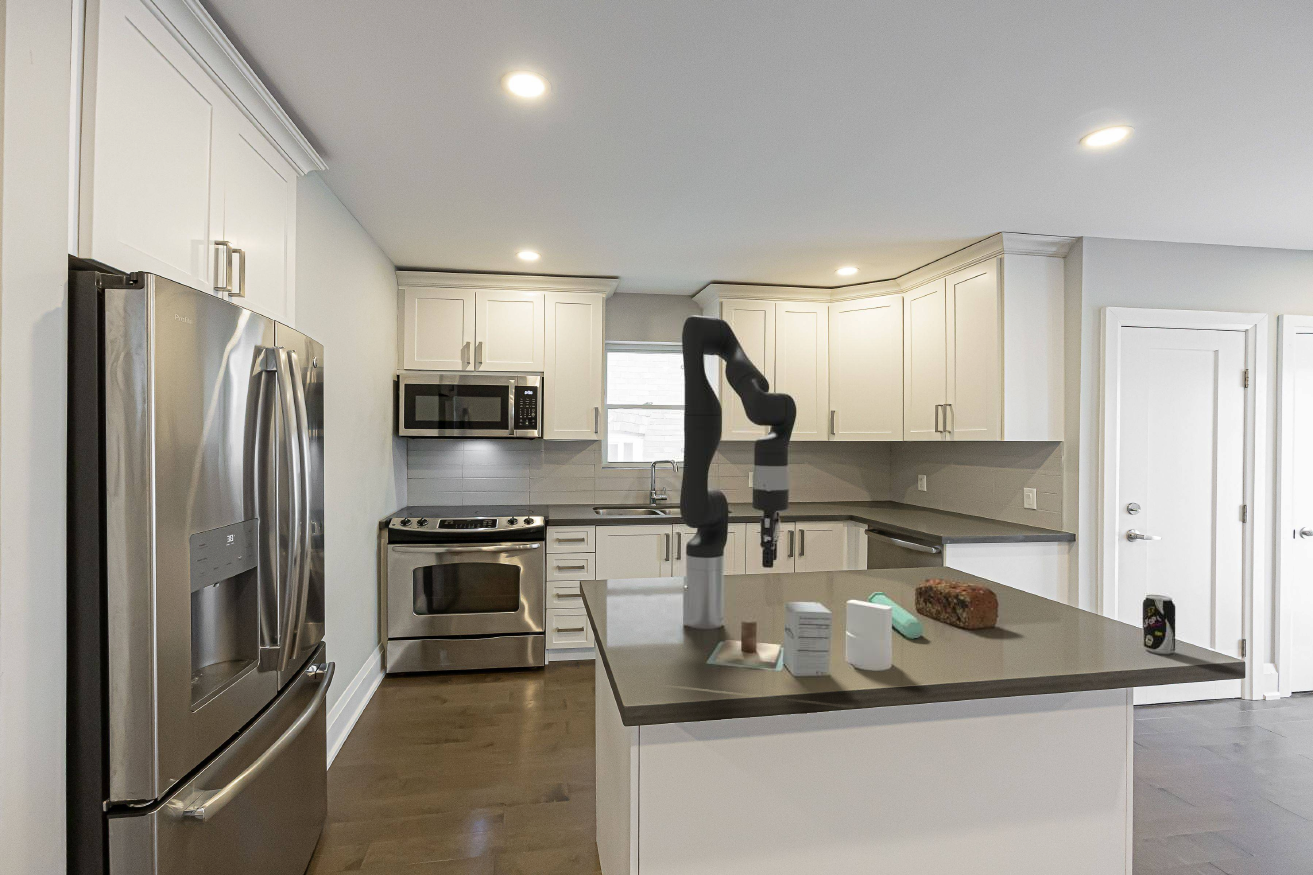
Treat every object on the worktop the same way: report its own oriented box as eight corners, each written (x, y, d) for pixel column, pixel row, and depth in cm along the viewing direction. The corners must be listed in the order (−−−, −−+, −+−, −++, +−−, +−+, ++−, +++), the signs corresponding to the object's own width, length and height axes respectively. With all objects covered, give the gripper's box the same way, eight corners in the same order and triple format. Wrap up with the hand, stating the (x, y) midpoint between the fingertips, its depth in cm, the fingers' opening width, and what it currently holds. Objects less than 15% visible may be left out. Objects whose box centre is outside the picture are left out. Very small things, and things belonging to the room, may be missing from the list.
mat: (706, 664, 136) (706, 662, 136) (720, 643, 150) (720, 641, 150) (781, 672, 132) (781, 670, 132) (788, 649, 146) (788, 647, 146)
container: (922, 614, 154) (884, 587, 179) (898, 623, 154) (863, 596, 179) (932, 637, 154) (892, 608, 179) (908, 647, 154) (871, 616, 179)
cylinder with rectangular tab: (837, 662, 138) (838, 604, 138) (858, 652, 145) (858, 596, 145) (880, 673, 132) (880, 612, 132) (899, 662, 138) (899, 604, 138)
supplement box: (781, 663, 136) (784, 600, 136) (817, 663, 137) (820, 601, 137) (791, 676, 129) (795, 610, 129) (829, 677, 129) (833, 611, 129)
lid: (714, 661, 137) (715, 626, 137) (725, 644, 148) (725, 612, 148) (774, 667, 134) (774, 632, 134) (780, 649, 145) (780, 616, 145)
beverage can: (1136, 649, 149) (1136, 594, 149) (1152, 646, 151) (1153, 592, 151) (1164, 657, 143) (1165, 600, 143) (1181, 653, 146) (1181, 598, 146)
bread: (999, 628, 165) (1000, 587, 165) (964, 631, 162) (964, 589, 162) (945, 609, 183) (945, 572, 183) (912, 612, 180) (912, 574, 180)
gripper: (756, 484, 150) (755, 556, 151) (748, 488, 137) (747, 568, 137) (790, 485, 149) (789, 558, 149) (786, 490, 135) (785, 571, 135)
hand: (769, 563), depth 143 cm, fingers open, 8 cm apart
